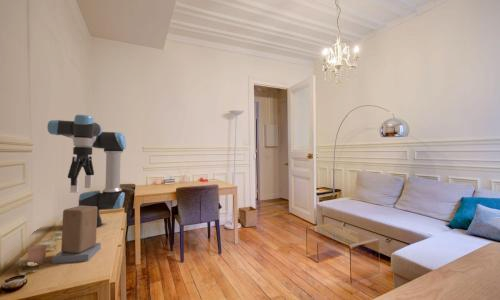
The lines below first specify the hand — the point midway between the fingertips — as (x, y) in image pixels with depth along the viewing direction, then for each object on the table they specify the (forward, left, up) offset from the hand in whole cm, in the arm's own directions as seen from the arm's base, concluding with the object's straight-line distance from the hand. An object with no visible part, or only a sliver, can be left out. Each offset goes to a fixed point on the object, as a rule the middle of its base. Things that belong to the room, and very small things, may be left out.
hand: (81, 190), depth 109 cm
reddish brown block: (+5, -14, -32) cm, 35 cm away
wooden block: (0, 0, -29) cm, 29 cm away
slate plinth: (0, 0, -32) cm, 32 cm away
